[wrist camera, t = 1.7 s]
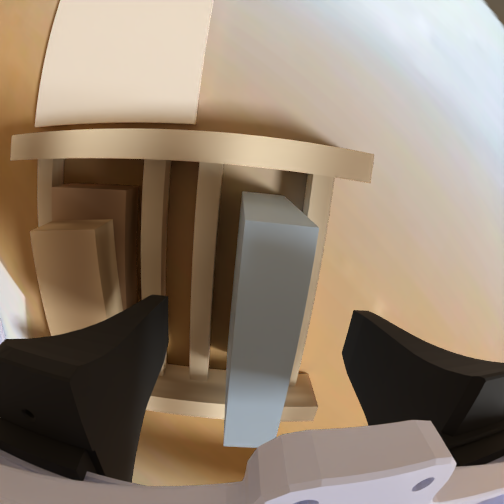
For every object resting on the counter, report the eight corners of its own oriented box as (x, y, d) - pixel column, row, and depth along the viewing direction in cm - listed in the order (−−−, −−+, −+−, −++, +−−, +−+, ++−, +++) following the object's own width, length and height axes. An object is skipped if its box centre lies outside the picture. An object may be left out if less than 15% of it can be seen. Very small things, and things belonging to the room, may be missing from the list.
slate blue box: (227, 351, 18) (223, 446, 11) (242, 191, 15) (245, 220, 8) (261, 353, 18) (273, 447, 11) (283, 195, 15) (319, 227, 8)
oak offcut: (71, 331, 15) (55, 350, 13) (52, 221, 13) (29, 230, 11) (127, 337, 15) (115, 359, 13) (112, 219, 13) (94, 229, 11)
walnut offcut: (82, 329, 17) (66, 350, 15) (74, 181, 15) (51, 187, 13) (141, 340, 18) (130, 363, 15) (142, 185, 15) (126, 190, 13)
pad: (38, 127, 13) (34, 127, 13) (68, -13, 11) (65, -16, 10) (195, 124, 14) (194, 123, 14) (219, -30, 11) (219, -33, 11)
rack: (62, 358, 18) (42, 385, 15) (44, 135, 13) (11, 135, 11) (304, 387, 19) (313, 421, 16) (349, 153, 15) (374, 154, 12)
